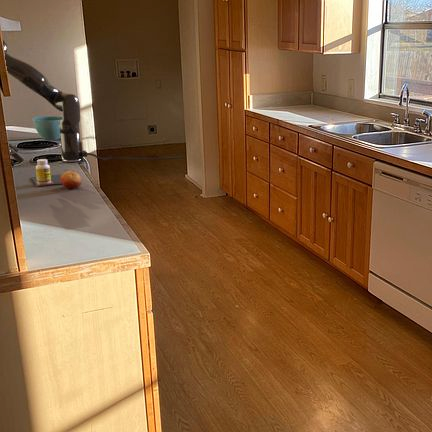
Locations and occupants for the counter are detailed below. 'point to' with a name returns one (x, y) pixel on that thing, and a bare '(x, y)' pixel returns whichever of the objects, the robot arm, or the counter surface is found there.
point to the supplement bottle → (43, 172)
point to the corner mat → (54, 181)
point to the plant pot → (48, 127)
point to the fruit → (70, 180)
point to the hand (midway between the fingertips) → (18, 163)
